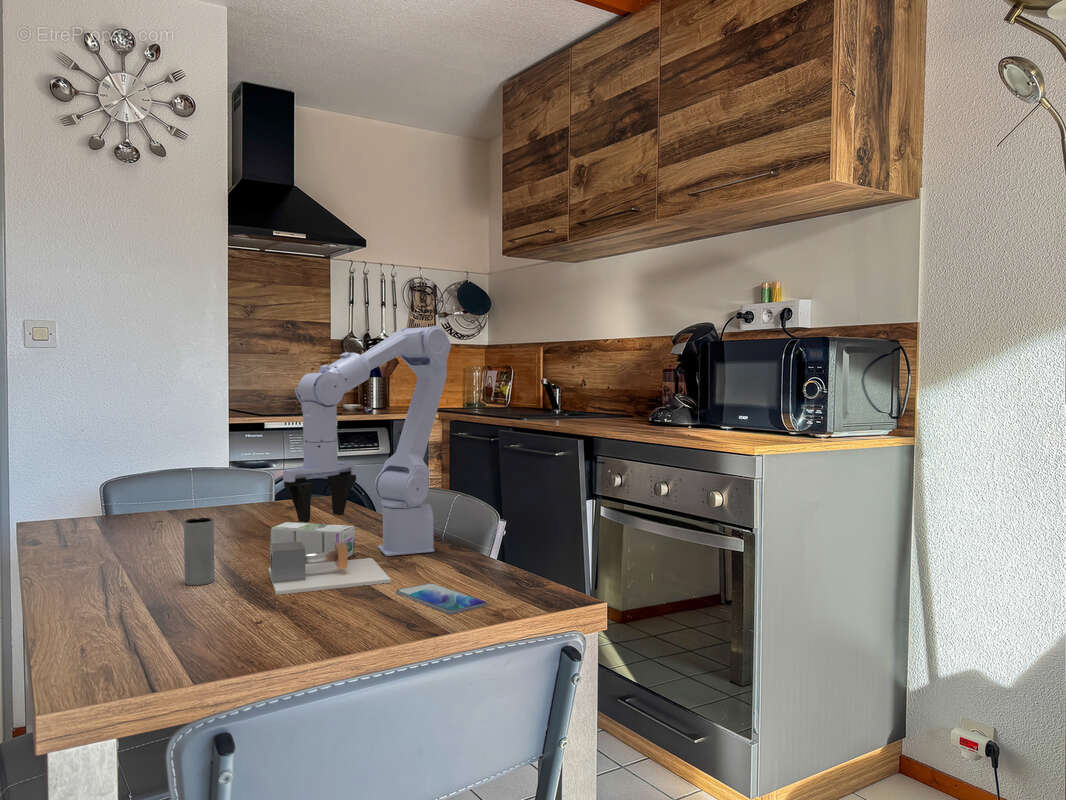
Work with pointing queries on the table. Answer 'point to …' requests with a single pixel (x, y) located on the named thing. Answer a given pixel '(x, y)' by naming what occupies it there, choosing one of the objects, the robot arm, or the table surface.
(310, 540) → the syrup box
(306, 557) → the shaft
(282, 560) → the bearing block
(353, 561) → the mounting plate
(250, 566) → the table surface
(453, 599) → the smartphone
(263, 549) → the table surface
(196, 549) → the grey cylinder
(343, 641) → the table surface
